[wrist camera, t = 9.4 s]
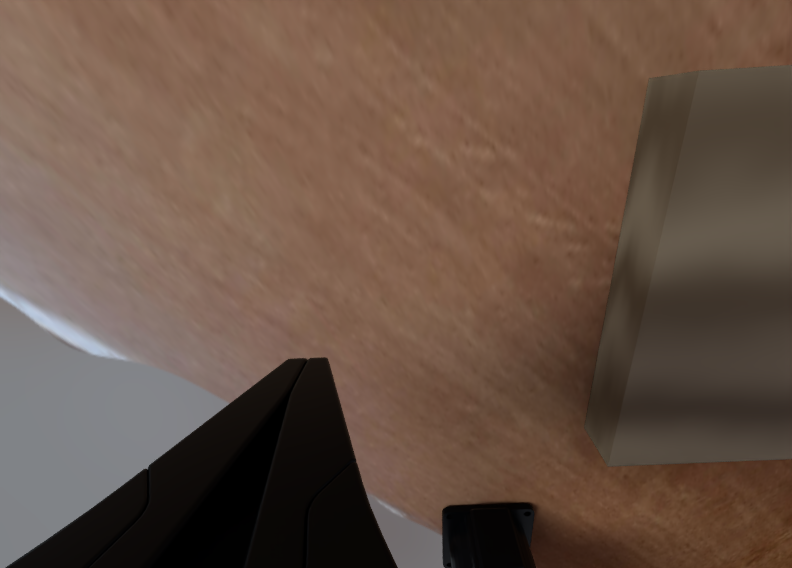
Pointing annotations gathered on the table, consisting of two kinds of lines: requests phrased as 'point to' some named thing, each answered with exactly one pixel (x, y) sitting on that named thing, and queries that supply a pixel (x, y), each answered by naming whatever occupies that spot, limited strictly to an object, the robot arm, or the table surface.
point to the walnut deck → (702, 278)
